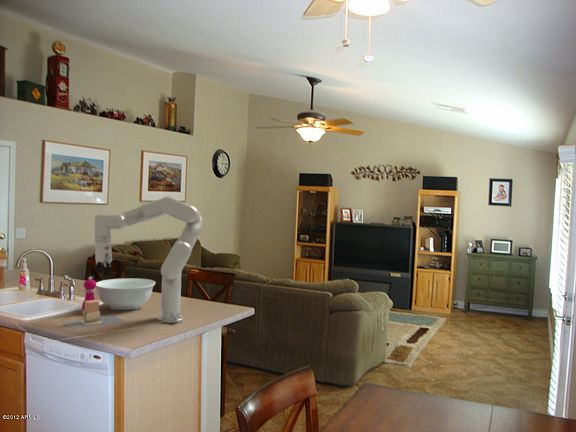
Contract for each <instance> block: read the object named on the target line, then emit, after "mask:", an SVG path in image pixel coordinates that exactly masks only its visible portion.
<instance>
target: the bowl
mask: <svg viewBox="0 0 576 432" xmlns="http://www.w3.org/2000/svg"><path fill="white" fill-rule="evenodd" d="M155 285H156V281H155V280H153V279H147V278H138V277H137V278H133V277H132V278H125V277H123V278H113V279H104V280H100V281H97V282H96V287H95V289H97V295H98V297H99V299H100V301H101V302H102V303H103V304H104V305H106V306H108V307H109V308H110V310H118V311H120V310H121V311H125V310H127V311H128V310H139V309H140V308H141V305H142V304H143V305H144V303H146V302H148V300H149V299H150V298H151V296H152V293H153V288H154V286H155Z"/></svg>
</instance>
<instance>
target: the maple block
mask: <svg viewBox="0 0 576 432" xmlns="http://www.w3.org/2000/svg"><path fill="white" fill-rule="evenodd" d="M100 317H101V311H99V312H95V313H87V312H85V311H84V310H83V311H82V320H83V322H85V323H86V324H91V323H98V322H100Z"/></svg>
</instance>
